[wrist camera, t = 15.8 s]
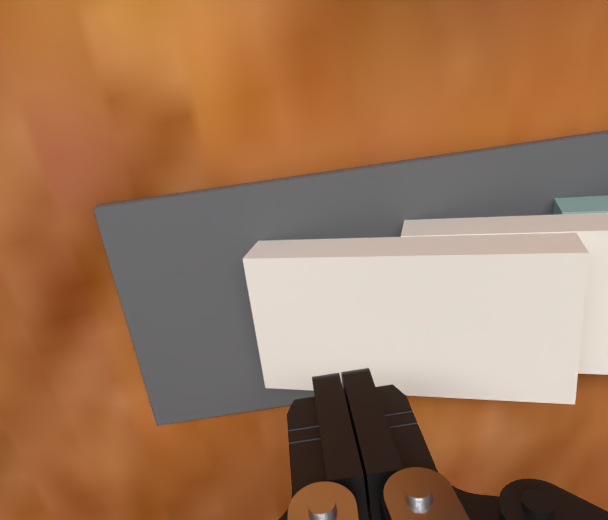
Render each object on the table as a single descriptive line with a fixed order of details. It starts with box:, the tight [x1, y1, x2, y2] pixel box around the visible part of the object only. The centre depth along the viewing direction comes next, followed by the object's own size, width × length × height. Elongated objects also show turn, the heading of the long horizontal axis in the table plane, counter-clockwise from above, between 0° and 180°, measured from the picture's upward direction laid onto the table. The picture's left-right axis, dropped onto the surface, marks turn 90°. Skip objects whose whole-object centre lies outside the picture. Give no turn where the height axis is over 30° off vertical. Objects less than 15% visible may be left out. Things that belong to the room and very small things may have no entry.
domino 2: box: [401, 213, 608, 375], centre depth 17 cm, size 2×5×10 cm
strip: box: [93, 131, 608, 426], centre depth 20 cm, size 30×9×1 cm, turn 97°
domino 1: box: [243, 232, 589, 404], centre depth 17 cm, size 2×5×10 cm
